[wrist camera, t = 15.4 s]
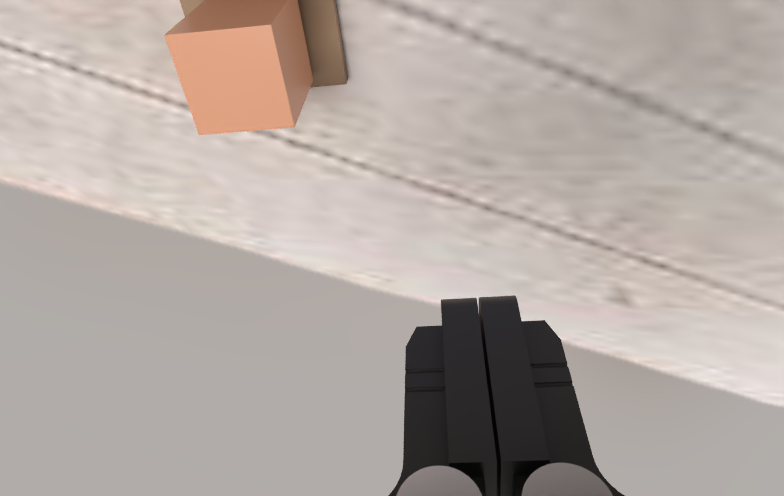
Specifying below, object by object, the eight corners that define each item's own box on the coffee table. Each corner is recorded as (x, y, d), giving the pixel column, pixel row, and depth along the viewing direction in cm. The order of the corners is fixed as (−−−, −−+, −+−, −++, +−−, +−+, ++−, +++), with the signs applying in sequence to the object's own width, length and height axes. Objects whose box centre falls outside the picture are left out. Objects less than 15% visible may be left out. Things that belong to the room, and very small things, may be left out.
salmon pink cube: (206, -1, 31) (164, 35, 26) (295, -11, 31) (270, 24, 26) (231, 87, 35) (198, 134, 29) (313, 79, 34) (294, 127, 29)
